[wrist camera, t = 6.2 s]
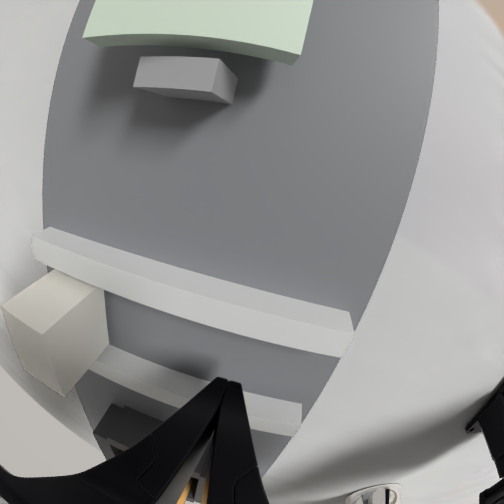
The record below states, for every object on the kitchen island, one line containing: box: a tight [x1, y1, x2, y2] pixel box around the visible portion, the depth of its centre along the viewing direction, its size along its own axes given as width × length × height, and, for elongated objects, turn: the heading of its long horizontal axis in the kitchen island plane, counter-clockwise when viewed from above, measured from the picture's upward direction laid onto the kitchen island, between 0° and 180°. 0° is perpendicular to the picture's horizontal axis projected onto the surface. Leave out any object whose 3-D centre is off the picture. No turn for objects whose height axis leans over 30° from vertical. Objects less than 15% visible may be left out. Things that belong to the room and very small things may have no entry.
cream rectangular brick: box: [1, 269, 109, 398], centre depth 9 cm, size 2×3×4 cm
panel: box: [31, 0, 439, 503], centre depth 10 cm, size 13×29×4 cm, turn 168°
